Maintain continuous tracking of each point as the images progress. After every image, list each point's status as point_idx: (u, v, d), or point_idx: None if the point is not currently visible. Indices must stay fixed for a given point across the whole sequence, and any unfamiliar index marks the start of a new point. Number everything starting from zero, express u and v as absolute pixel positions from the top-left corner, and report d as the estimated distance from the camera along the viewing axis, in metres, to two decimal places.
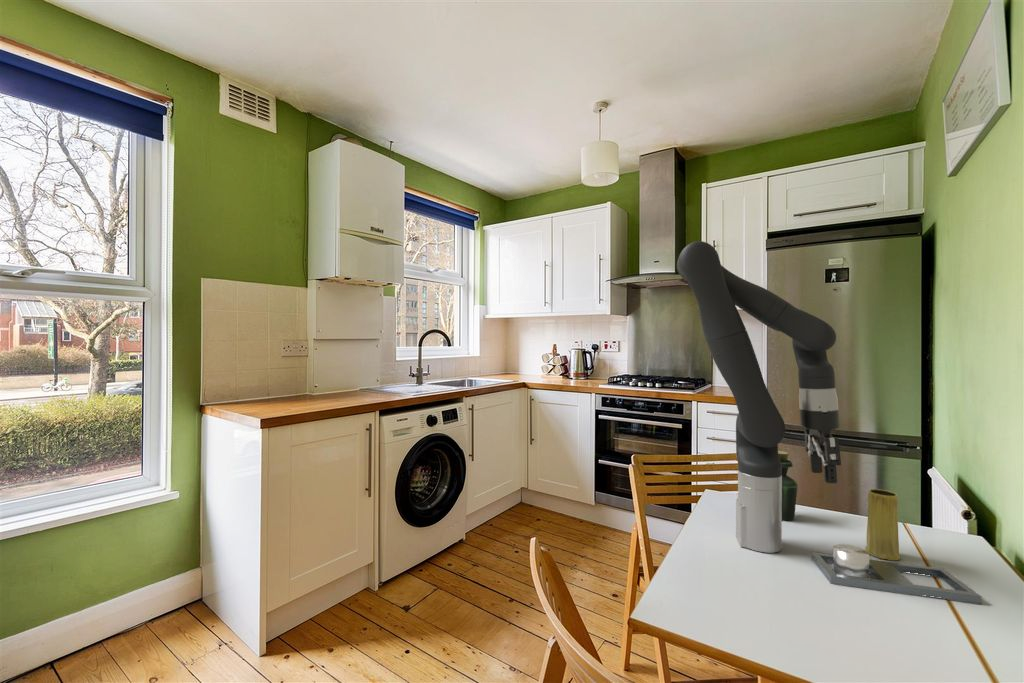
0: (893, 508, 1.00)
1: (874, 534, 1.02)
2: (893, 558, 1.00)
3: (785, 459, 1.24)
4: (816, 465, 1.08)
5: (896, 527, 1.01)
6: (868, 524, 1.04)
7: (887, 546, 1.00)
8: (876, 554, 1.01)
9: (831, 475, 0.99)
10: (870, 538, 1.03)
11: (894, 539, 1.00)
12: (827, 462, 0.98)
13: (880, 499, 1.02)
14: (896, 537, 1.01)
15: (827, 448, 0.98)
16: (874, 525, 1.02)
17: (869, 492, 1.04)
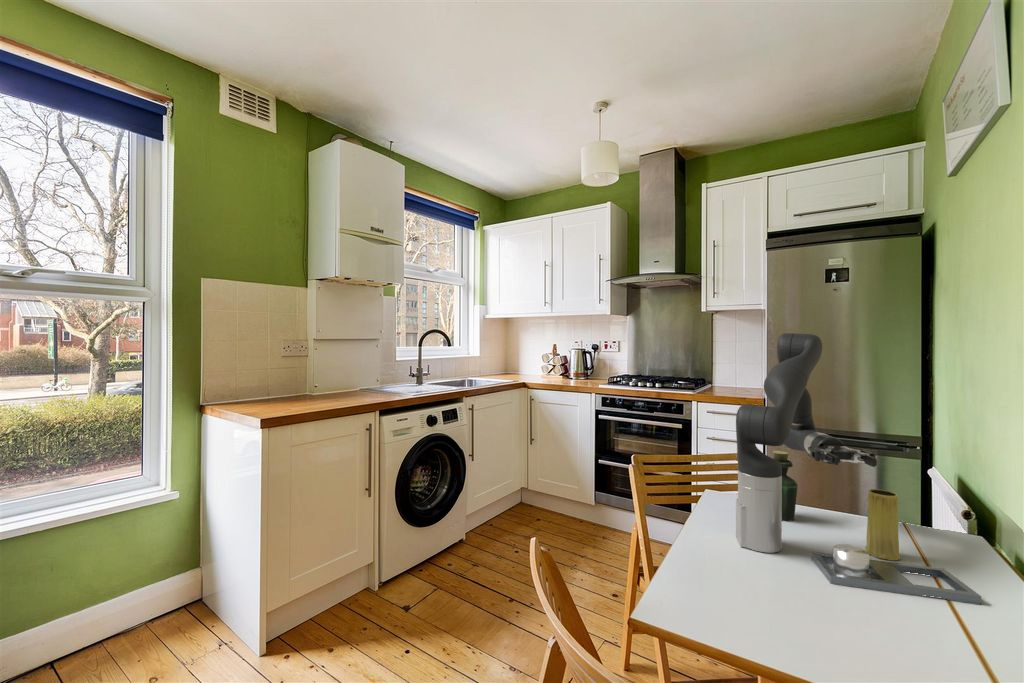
0: (893, 508, 1.00)
1: (874, 534, 1.02)
2: (893, 558, 1.00)
3: (785, 459, 1.24)
4: None
5: (896, 527, 1.01)
6: (868, 524, 1.04)
7: (887, 546, 1.00)
8: (876, 554, 1.01)
9: None
10: (870, 538, 1.03)
11: (894, 539, 1.00)
12: (874, 453, 1.18)
13: (880, 499, 1.02)
14: (896, 537, 1.01)
15: None
16: (875, 525, 1.02)
17: (869, 492, 1.04)
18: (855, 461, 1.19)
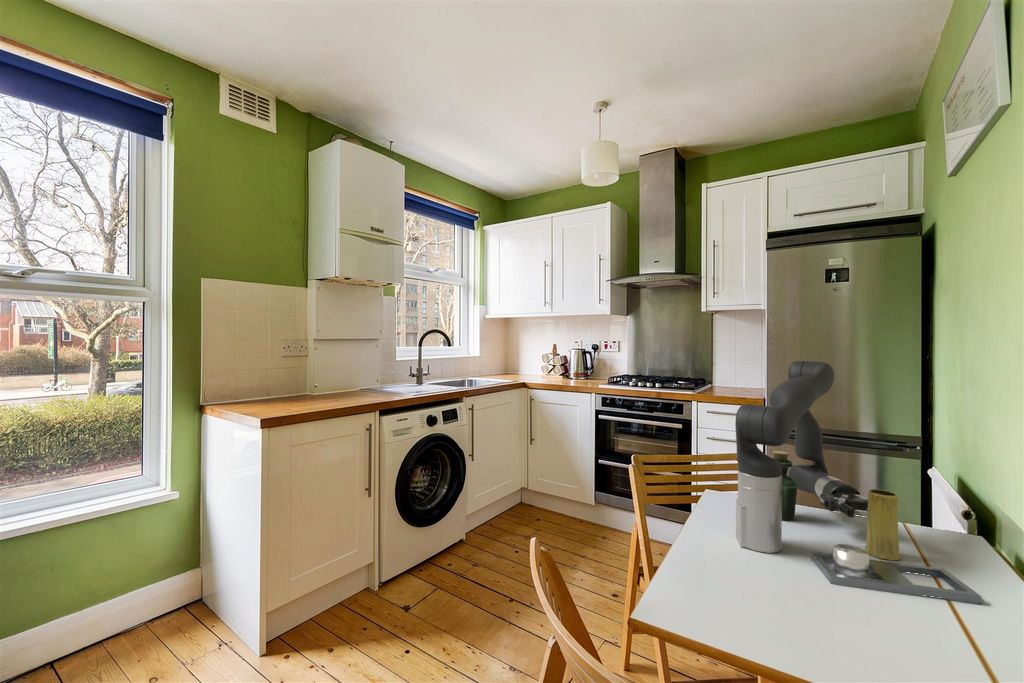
0: (893, 508, 1.01)
1: (874, 534, 1.02)
2: (893, 558, 1.00)
3: (785, 459, 1.24)
4: None
5: (896, 527, 1.01)
6: (868, 524, 1.04)
7: (887, 546, 1.00)
8: (876, 554, 1.01)
9: None
10: (870, 538, 1.03)
11: (894, 539, 1.00)
12: None
13: (880, 499, 1.02)
14: (896, 537, 1.01)
15: None
16: (874, 525, 1.02)
17: (869, 492, 1.04)
18: None
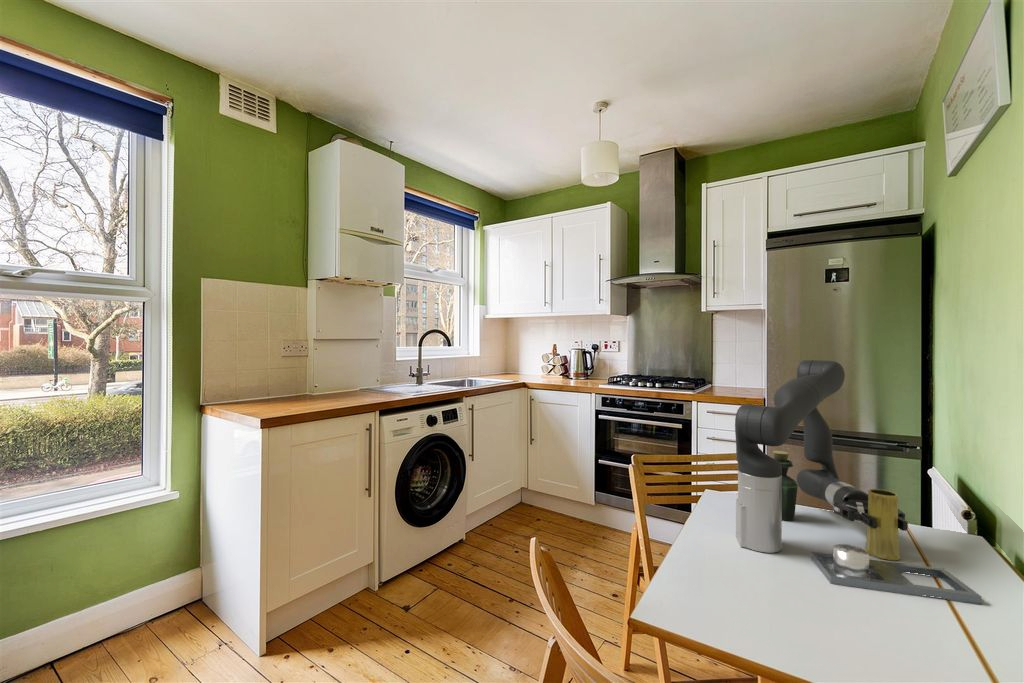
0: (893, 508, 1.00)
1: (874, 534, 1.02)
2: (893, 558, 1.00)
3: (785, 459, 1.24)
4: None
5: (896, 527, 1.01)
6: None
7: (887, 546, 1.00)
8: (876, 554, 1.01)
9: None
10: (870, 538, 1.03)
11: (894, 539, 1.00)
12: (903, 513, 1.04)
13: (880, 499, 1.02)
14: (896, 537, 1.01)
15: None
16: None
17: (869, 492, 1.04)
18: None
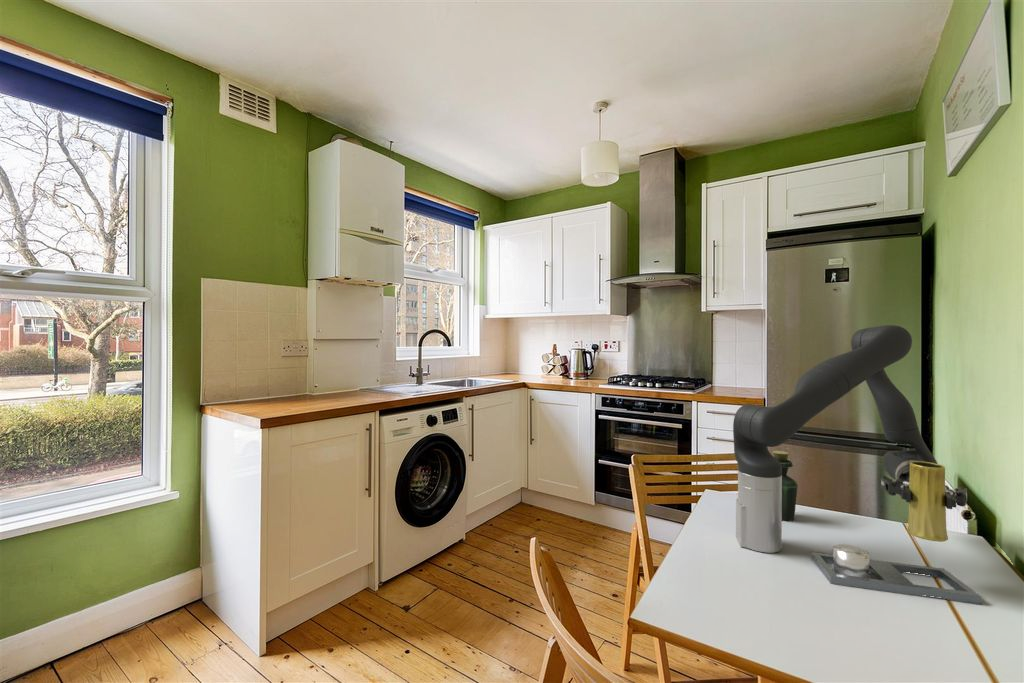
0: (934, 481, 0.88)
1: (912, 510, 0.90)
2: (933, 538, 0.87)
3: (785, 459, 1.24)
4: None
5: (939, 504, 0.88)
6: None
7: (925, 524, 0.88)
8: (913, 532, 0.90)
9: None
10: (909, 514, 0.91)
11: (935, 517, 0.88)
12: (963, 493, 0.89)
13: (918, 470, 0.90)
14: (939, 515, 0.88)
15: (966, 491, 0.91)
16: (912, 499, 0.90)
17: (910, 463, 0.92)
18: None
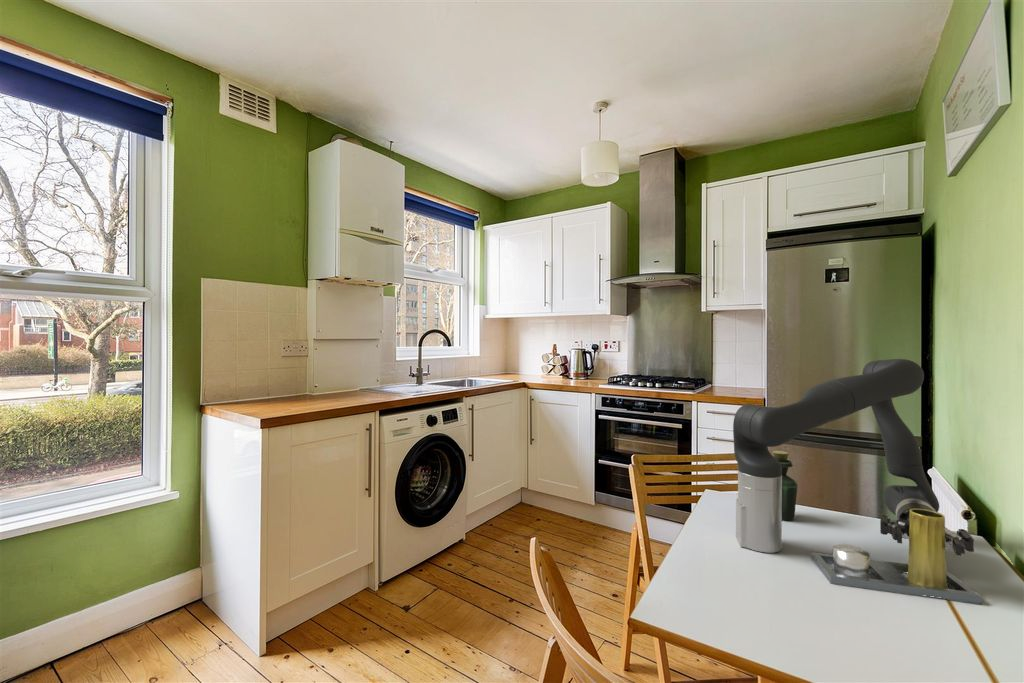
0: (934, 531, 0.88)
1: (912, 558, 0.90)
2: None
3: (785, 459, 1.24)
4: None
5: (939, 554, 0.88)
6: (909, 547, 0.92)
7: (925, 573, 0.88)
8: (912, 581, 0.90)
9: None
10: (909, 562, 0.91)
11: (935, 567, 0.88)
12: (971, 538, 0.88)
13: (918, 519, 0.90)
14: (939, 565, 0.87)
15: (968, 534, 0.91)
16: (912, 548, 0.90)
17: (910, 511, 0.92)
18: None
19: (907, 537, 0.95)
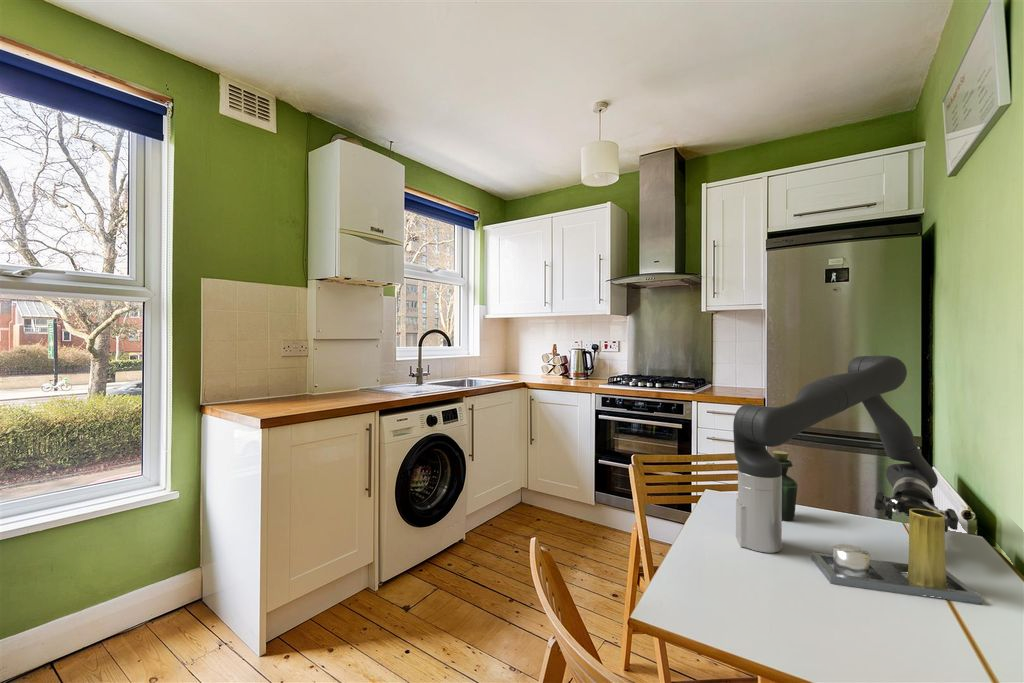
0: (933, 531, 0.88)
1: (912, 558, 0.90)
2: None
3: (785, 459, 1.24)
4: None
5: (939, 554, 0.88)
6: (909, 547, 0.92)
7: (925, 573, 0.88)
8: (912, 581, 0.90)
9: (947, 526, 0.97)
10: (909, 562, 0.91)
11: (935, 567, 0.88)
12: (956, 518, 0.98)
13: (918, 519, 0.90)
14: (939, 565, 0.87)
15: (955, 514, 1.01)
16: (912, 548, 0.90)
17: (909, 511, 0.92)
18: None
19: (898, 513, 1.06)
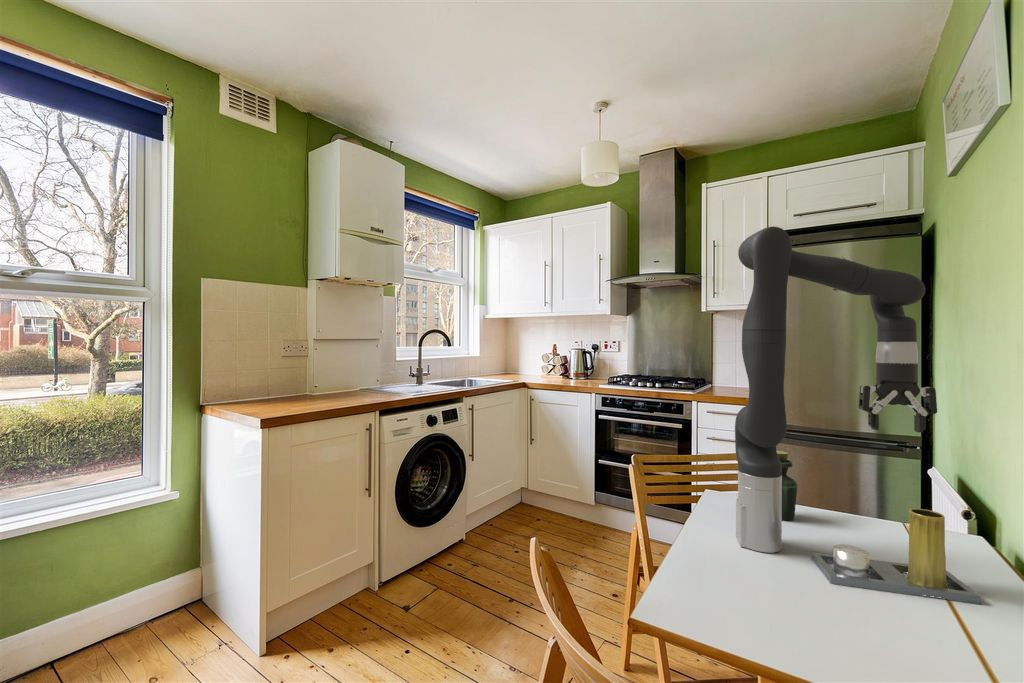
0: (933, 531, 0.88)
1: (912, 558, 0.90)
2: None
3: (785, 459, 1.24)
4: None
5: (939, 554, 0.88)
6: (909, 547, 0.92)
7: (925, 573, 0.88)
8: (912, 581, 0.90)
9: None
10: (909, 562, 0.91)
11: (935, 567, 0.88)
12: (935, 411, 1.02)
13: (918, 519, 0.90)
14: (939, 565, 0.87)
15: (935, 397, 1.02)
16: (912, 548, 0.90)
17: (909, 511, 0.92)
18: (908, 405, 1.05)
19: None
